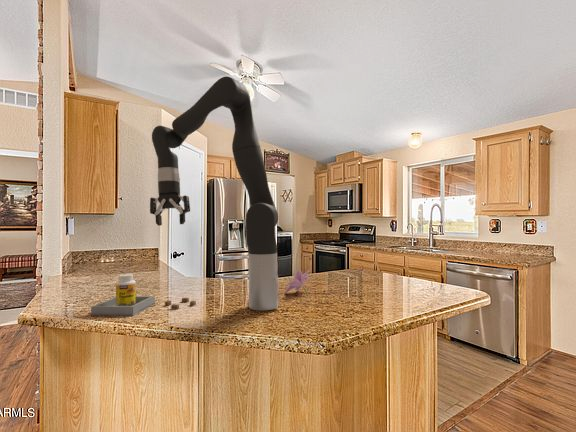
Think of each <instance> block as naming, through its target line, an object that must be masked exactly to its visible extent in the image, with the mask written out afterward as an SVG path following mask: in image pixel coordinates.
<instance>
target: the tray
mask: <svg viewBox="0 0 576 432" xmlns="http://www.w3.org/2000/svg"><path fill="white" fill-rule="evenodd" d="M155 303H156V297H155V295H136V296H135V305H133V306H116V296H114V297H112V298H109V299H106V300H104V301H102V302H99V303H97V304H95V305H91V306H90V315H91V316H98V317H99V316H101V317H102V316H110V317H111V316H113V317H114V316H115V317H116V315H117V316H119V315H120V316H119V317H121V315H122V316H123V315H124V316H123V317H125V316H127V317H129V316H131V317H132V316H135V315H137V314H139V313H141V312H143V311H144V310H146V309H148V308H150V307H151V306H153V305H155Z"/></svg>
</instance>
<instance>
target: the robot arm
mask: <svg viewBox="0 0 576 432" xmlns="http://www.w3.org/2000/svg"><path fill="white" fill-rule="evenodd" d="M221 107H224V108H226V109H229V110H230V113H231V115H232V119H233V123H234V134H233V139H232V143H231V144H232V145H231V146H232V147H231V148H232V155H233V159H234V164H235V166H236V170H237V172H238V174H239V177H240V178H241V181H242V183H243V185H244V187H245V189H246V191H247V194H248V197H249V202H250V203H249V204H250V206H249V208H248V209H247V211H246V215H245V240H246V245H247V250H248V308H249V309H250V310H251V311H260V312H261V311H263V312H264V311H271V310H277V309H278V306H279V301H280V300H279V275H278V244H277V241H276V226H277V224H278V221H279V213H278V209H277V207H276V205H275V201H274V200H273V196H272V193H271V191H270V187H269V183H268V182H269V181H268V175H267V171H266V167H265V161H264V157H263V153H262V148H261V145H260V142H259V137H258V133H257V128H256V126H255V121H254V116H253V110H252V102H251V95H250V91H249V89H248V88H247V87H246V85H245V84H244V83H242V82H240V81H238V80H236V79H235V78H234V77H231V76H223V77H220V78H219V79H217V80H216V81H215V82H214V83H213V84H212V85H211V86H210V88H209V89H208V90H207V91H206V92H205V93H204V94H202V96H201V97H200V98H199V99H198V100H197V101H196V102H195V103H194V104H193V105H192V106H190V108H189V109H187V110H185V112H183V113H181V114H180V115H179V116H177V117H176V118H175V119H174V120H173V121H172V124H171V126H172V127H171V128H170V127H167V126H164V125H157V126H155V127H154V128H153V129H152V131H151V142H152V146H153V147H154V148H153V149H154V150H155V151H154V152H155V155H156V157H157V186H158V187H157V189H158V190H157V191H158V197H150V199H149V202H150V203H149V214H151V215H154V216H155V224H156V225H157V226H162V225H163V220H162V219H163V217H162V214H163V212H164V211H165V210H167V209H168V210H170V209H175V210H177V212H179V214H178V215H179V225H185V223H186V214H187V213H189V212H191V204H190V197H189V196H188V195H183V196H181V184H180V183H181V182H180V181H181V177H180V172H179V157H178V155H177V153H174V152H173V151H172V150H171V149H176V148H179V147H180V146H181V145H182V144H183V143H184V142H185V140H186V139H187V138H188V136H189V135H191V134H192V133H194V132H196V131H198V130H199V129H200V128H201V127H202V126H203V125H204V123H205V121H206V120H207V117H208V116H209V114H210V113H212V112H213V111H215V110H216V109H218V108H221ZM181 201H182V203H183V206H182V205H181ZM158 203H159V205H158V206H157V204H158Z"/></svg>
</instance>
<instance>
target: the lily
mask: <svg viewBox="0 0 576 432" xmlns="http://www.w3.org/2000/svg"><path fill="white" fill-rule="evenodd" d="M310 271H311V269H308V270H306V271H305V272H304V273H303V272H302V270H301V269H299V268H298V269H296V271H295V273H294V275H293V276H294V277H293V279H292V280H290V281H289V282H287V283H286V285H288V287H287V288H286V290H285V291H284V294H287V293H289V292H290V291H291V290H293V289H295V290H296V291H297V292H299V291H300V289H301V288H303V290H304V291H305V294H306V295H307V296H309V295H308V292H307V290H306V288H305V287H304V284H305V283H304V282H306V281H308V280H309V279H311V277H310V276H308V274H309V272H310Z"/></svg>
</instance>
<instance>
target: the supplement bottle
mask: <svg viewBox="0 0 576 432" xmlns="http://www.w3.org/2000/svg"><path fill="white" fill-rule="evenodd" d="M136 285H137V283H136V280H134V274H132V273H124V274H120V275H118V281H117V282H116V283H115V297H116V306H133V305H135V296H137V295H136V292H137V291H136Z"/></svg>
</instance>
